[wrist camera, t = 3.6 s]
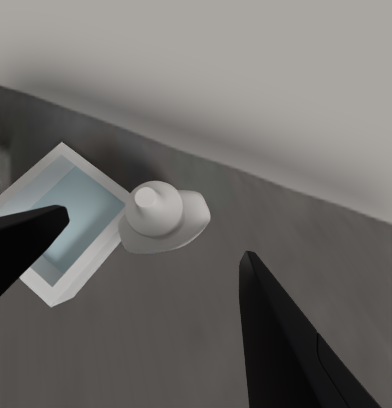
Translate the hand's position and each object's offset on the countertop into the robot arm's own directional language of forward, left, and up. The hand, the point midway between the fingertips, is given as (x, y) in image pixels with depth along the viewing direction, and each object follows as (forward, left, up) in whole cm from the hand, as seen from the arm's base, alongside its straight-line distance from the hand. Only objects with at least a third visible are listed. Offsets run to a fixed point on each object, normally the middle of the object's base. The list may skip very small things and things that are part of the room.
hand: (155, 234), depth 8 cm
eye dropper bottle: (+1, 0, -9) cm, 9 cm away
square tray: (-4, +9, -9) cm, 14 cm away
